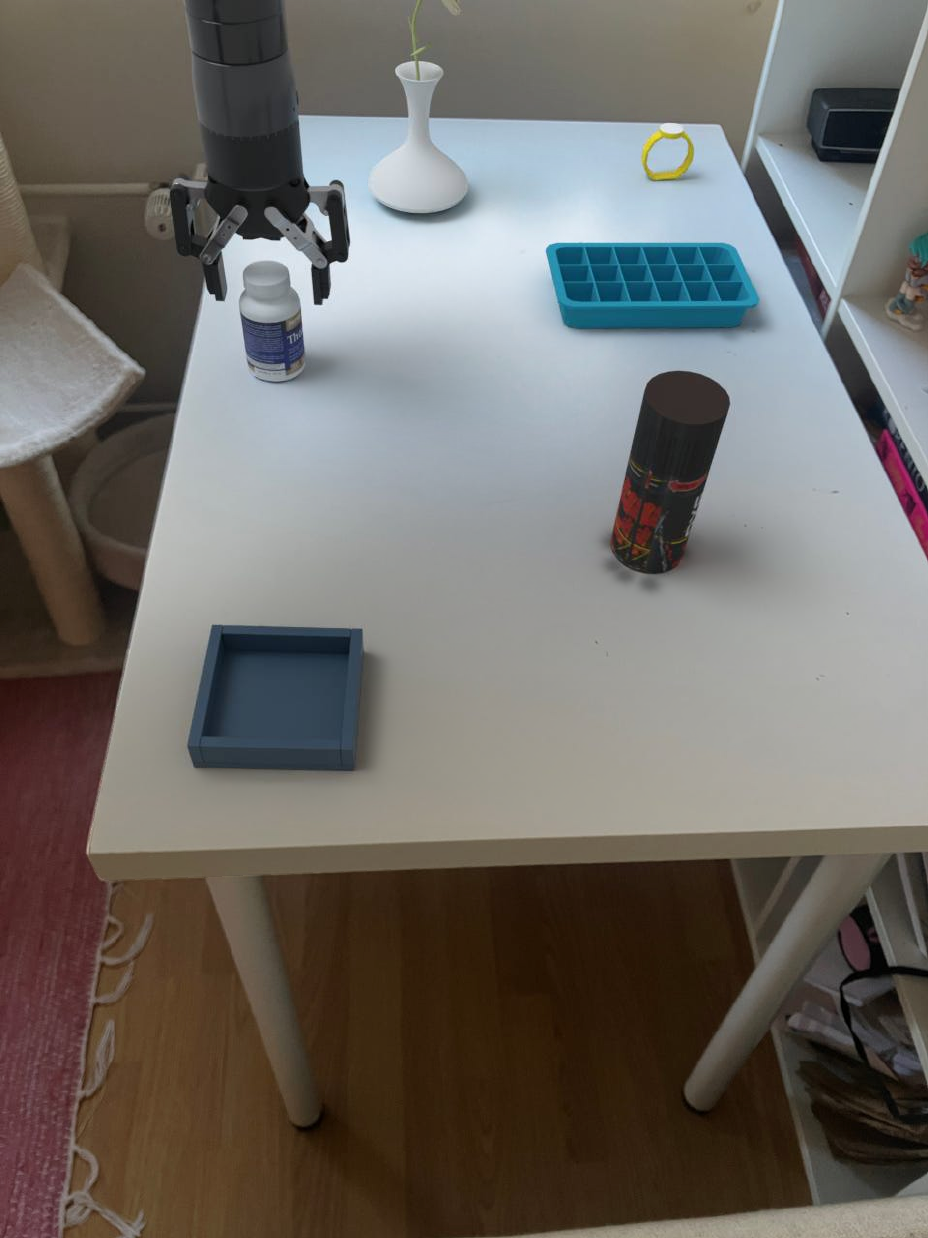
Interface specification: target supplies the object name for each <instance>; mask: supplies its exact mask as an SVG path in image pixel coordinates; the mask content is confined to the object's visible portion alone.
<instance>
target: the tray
mask: <svg viewBox="0 0 928 1238" xmlns="http://www.w3.org/2000/svg"><path fill="white" fill-rule="evenodd" d="M364 652H365V649H364V630H363V628H355V627H354V628H350V627H316V626H315V627H314V626H312V627H311V626H276V625H242V624H240V625H236V624H211V628H210V632H209V637H208V642H207V648H206V652H205V656H204V662H203V667H202V672H201V676H200V681H199V687H198V691H197V696H196V701H195V705H194V710H193V716H192V720H191V724H190V725H191V726H190V729H189V735H188V740H187V745H186V748H187V750H188V754H189V756H190V761H191V763H192V766H193V767H194V768H219V769H220V768H222V769H223V768H224V769H226V768H227V769H264V770H265V769H270V770H308V771H309V770H313V771H315V770H317V771H355V768H356V767H355V766H356V754H357V741H358V729H359V719H360V718H359V717H360V716H359V715H360V706H361V705H360V704H361V693H362V692H361V691H362V678H363V677H362V676H363V666H364Z"/></svg>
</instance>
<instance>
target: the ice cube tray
mask: <svg viewBox="0 0 928 1238" xmlns="http://www.w3.org/2000/svg"><path fill="white" fill-rule="evenodd" d="M545 254H546V258H547V262H548V267H549V272H550V275H551V279H552V284H553V287H554V292H555V297H556V301H557V303H558V307H559V310H560V314H561V319H562V323H563V325H565V326H567V327H569V328H574V329H652V328H653V329H656V328H657V329H660V328H661V329H664V328H665V329H666V328H673V329H674V328H734V327H738V326H740V325H741V324H742V322H743V319H744V317H745V315H746V313H747V310H748V309H753V308H755V307H757V306H758V303H759V302H760V297H759V295H758V292H757V290H756V288H755V286H754V284H753V282H752V280H751V277H750V275H749V272H748V271H747V269H746V266H745V264H744V262H743V260H742V258H741V256H740V254H739V252H738V249H737V248H736V247H735V246H733V245H731V244H729V243H727V242H555V243H551V244H549V245H548V246H547V247H546V248H545Z"/></svg>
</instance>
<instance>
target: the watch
mask: <svg viewBox="0 0 928 1238" xmlns="http://www.w3.org/2000/svg"><path fill="white" fill-rule="evenodd" d="M684 129H685V128H684V127H683V126H682V125H681V124H678V123H674V122H666V123H662V124H661V125H660V126H659V129H658V131H656V132H654V133H653V134H652V135H650V136H649V138H648V139H647V141H646V142H645V144H644V145H643V148H642V151H641V157H640V161H641V164H642V167H643V170H644V172H645V174H646V175H647V176H648V177H649V178H651V179H652V180H653V181H654V182H655V181H662V180H663V181H664V180H678V179H679V178H680V177H682V176H683V175H684V174H685V173H686V172H687V171H688V170H689V169H690V166H691V165H692V163H693V160H694V155H695V147H694V144H693V142H692V140H691V138H690V136H689V134H688V133H687V132H686V131H685V130H684ZM680 138H682V139H684V140H685V141H686V142H687V154H686V156H685V158H684V160H683V162H682V164H680V165H679V166H678V167H677V168H675V170H672V171H661V172H654V171H652V170H651V169H649V166H648V158H649V153H650V151H651V150H652V148H653V147H654V145H656V143H657V142H660V141H661V140H662V139H667V140H677V139H680Z"/></svg>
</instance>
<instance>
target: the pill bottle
mask: <svg viewBox="0 0 928 1238" xmlns="http://www.w3.org/2000/svg"><path fill="white" fill-rule="evenodd" d="M290 275H291V274H290V270H289V268H288V267H287V266H286V265H285V264H283V263H281V262H279V261H276V260H258V261H254V262H252V263H250V264H248V265H247V266H245V268H244V269H243V271H242V283H243V288H244V289H243V291H241V294H240V296H239V299H238V309H239V315H240V322H241V329H242V336H243V343H244V349H245V358H246V363H247V368H248V370H249V372H250V373H251V374H252V375H253V376H254V377H256V378H257V379H259V380H261V381H266V382H285V381H289V380H292V379H295V377H297V376H298V375H300V374H301V373H302V372H303V371H304V369H305V366H306V357H305V356H306V352H305V341H304V340H305V339H304V330H303V318H302V306H301V299H300V296H299V294H298V292H297V290H295V289H294V288H293V287H292V286H291V285H292V284H291V276H290Z"/></svg>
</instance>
